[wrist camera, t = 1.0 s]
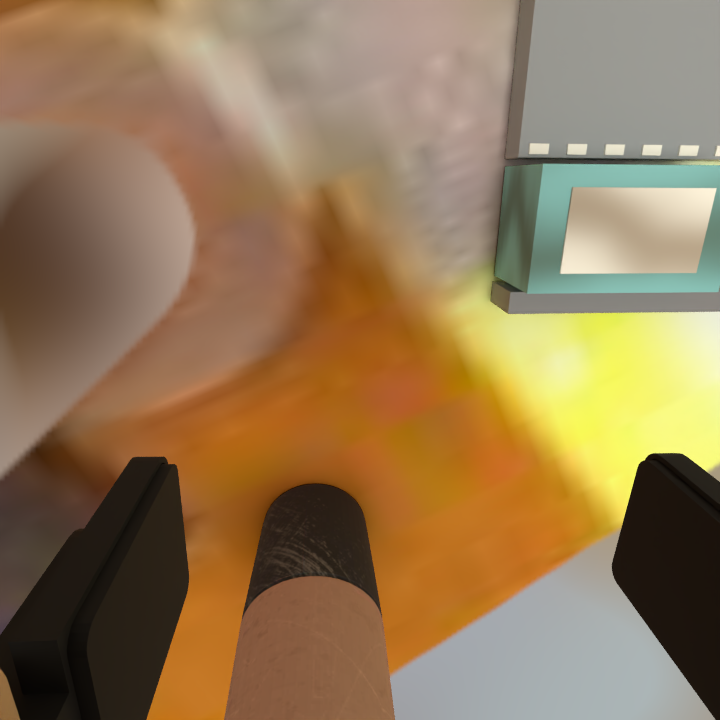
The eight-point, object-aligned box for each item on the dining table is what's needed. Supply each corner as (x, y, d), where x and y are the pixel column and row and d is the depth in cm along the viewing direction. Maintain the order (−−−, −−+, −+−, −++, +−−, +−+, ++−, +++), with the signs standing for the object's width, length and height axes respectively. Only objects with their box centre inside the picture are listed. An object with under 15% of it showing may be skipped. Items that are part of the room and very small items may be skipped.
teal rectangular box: (505, 166, 27) (544, 163, 22) (678, 168, 28) (752, 165, 23) (494, 275, 29) (527, 294, 24) (656, 274, 30) (719, 292, 25)
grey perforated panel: (527, -66, 24) (554, -99, 21) (910, -50, 25) (983, -79, 22) (490, 301, 30) (508, 313, 27) (800, 298, 31) (847, 310, 28)
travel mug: (249, 559, 35) (166, 990, 16) (273, 469, 33) (206, 853, 14) (352, 577, 36) (383, 998, 18) (382, 491, 34) (455, 872, 15)
